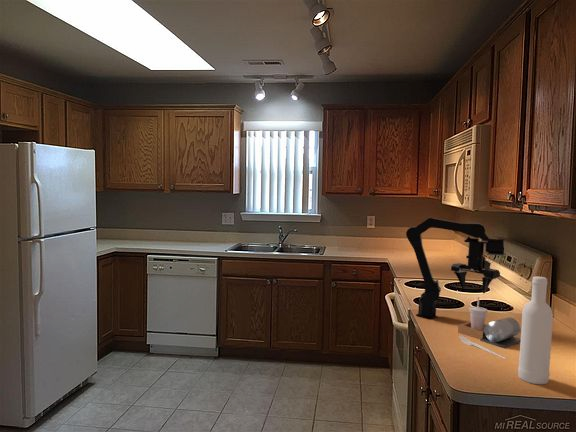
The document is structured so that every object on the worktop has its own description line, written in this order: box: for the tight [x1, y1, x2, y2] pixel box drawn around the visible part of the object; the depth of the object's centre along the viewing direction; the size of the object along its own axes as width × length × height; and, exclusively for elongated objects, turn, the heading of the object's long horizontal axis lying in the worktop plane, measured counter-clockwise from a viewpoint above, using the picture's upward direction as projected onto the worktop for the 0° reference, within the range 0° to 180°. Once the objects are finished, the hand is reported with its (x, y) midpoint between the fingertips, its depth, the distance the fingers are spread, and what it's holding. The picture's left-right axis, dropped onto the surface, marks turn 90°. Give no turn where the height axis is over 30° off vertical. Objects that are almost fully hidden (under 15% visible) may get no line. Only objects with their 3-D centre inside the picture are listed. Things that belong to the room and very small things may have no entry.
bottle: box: [517, 275, 554, 385], centre depth 132 cm, size 8×8×30 cm
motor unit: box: [457, 316, 521, 349], centre depth 169 cm, size 19×13×8 cm
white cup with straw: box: [469, 296, 488, 331], centre depth 173 cm, size 6×6×14 cm
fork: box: [458, 334, 508, 360], centre depth 157 cm, size 3×20×2 cm, turn 24°
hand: (473, 291), depth 188 cm, fingers open, 9 cm apart
